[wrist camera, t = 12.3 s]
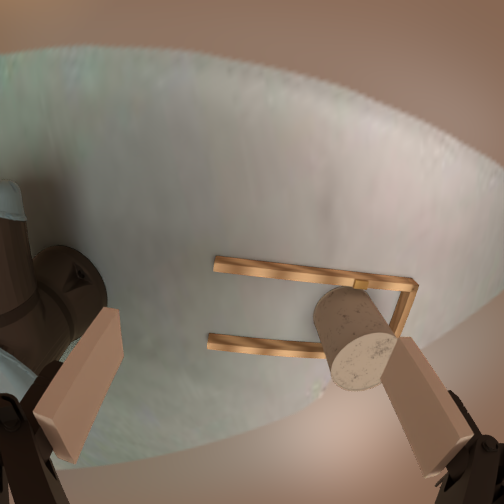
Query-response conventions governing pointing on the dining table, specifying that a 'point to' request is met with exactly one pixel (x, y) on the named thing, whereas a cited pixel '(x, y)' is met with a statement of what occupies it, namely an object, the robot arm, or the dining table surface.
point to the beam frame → (314, 276)
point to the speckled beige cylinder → (353, 338)
